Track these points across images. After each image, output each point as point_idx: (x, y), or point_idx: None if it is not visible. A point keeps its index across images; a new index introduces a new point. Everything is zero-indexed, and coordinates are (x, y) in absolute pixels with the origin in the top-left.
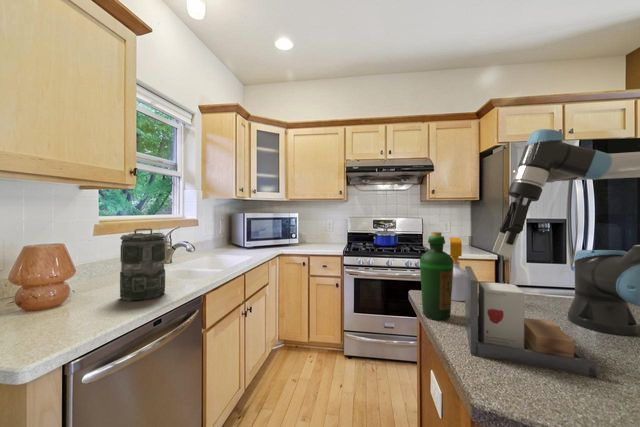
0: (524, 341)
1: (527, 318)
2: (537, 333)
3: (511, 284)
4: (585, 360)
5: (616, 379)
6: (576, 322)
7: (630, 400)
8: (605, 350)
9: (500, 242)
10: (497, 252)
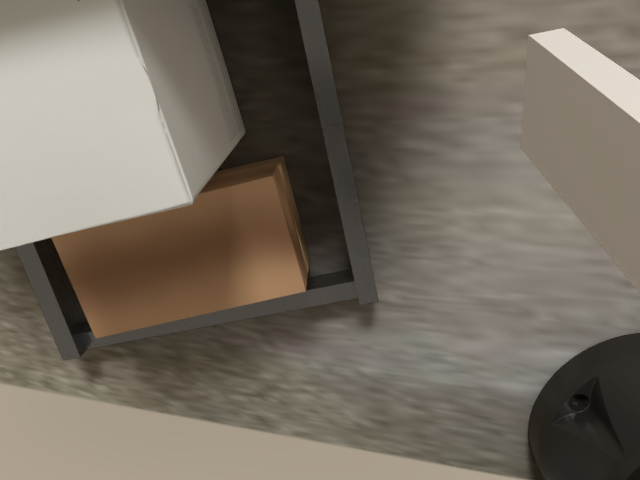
0: (221, 171)
1: (276, 204)
2: (87, 236)
3: (172, 185)
4: (62, 338)
5: (113, 375)
6: (585, 356)
7: (7, 379)
8: (334, 389)
9: (606, 162)
10: (527, 98)
